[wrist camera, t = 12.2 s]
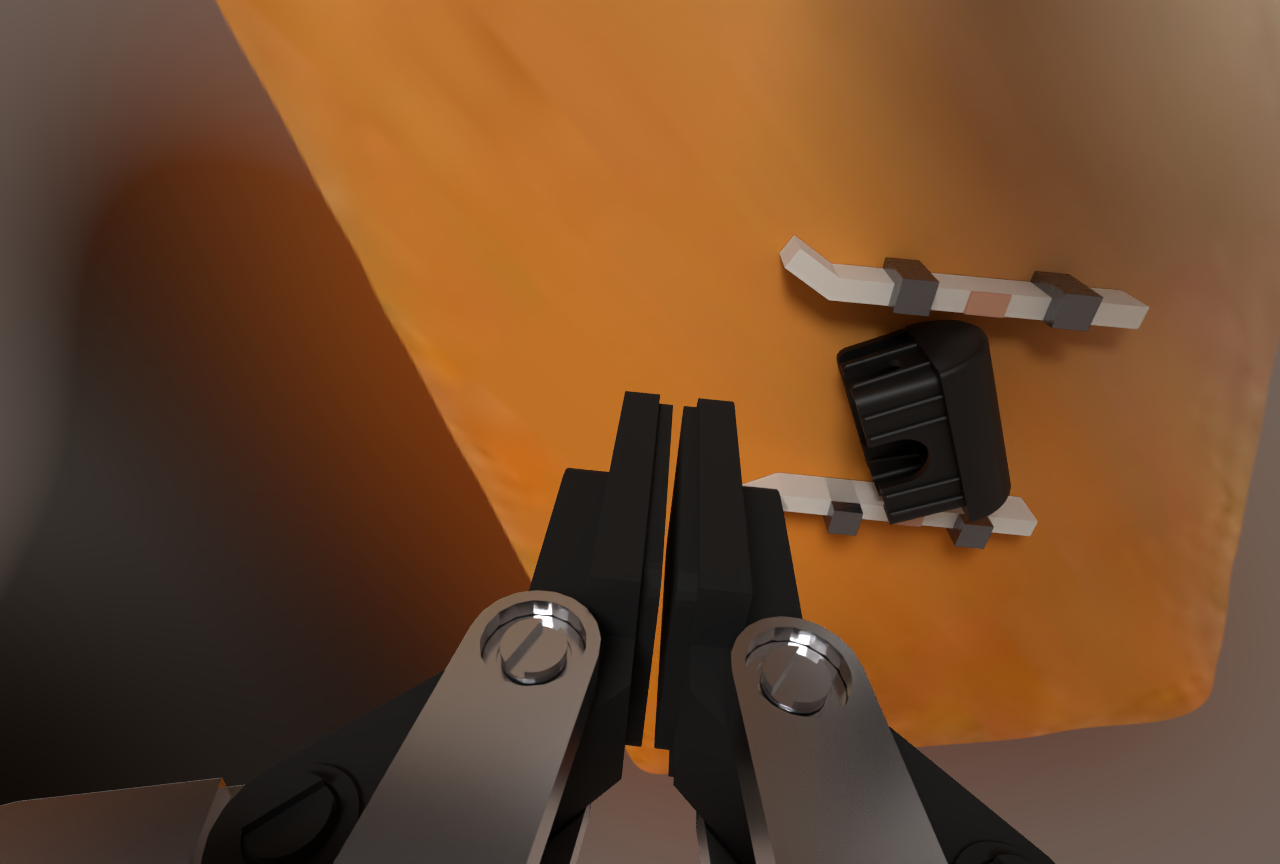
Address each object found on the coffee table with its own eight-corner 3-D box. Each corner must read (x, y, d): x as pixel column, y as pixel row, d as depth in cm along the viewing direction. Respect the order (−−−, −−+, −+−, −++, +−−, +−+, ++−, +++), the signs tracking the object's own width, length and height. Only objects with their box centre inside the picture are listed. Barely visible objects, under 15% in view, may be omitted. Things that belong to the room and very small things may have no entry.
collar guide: (783, 234, 35) (790, 253, 32) (1133, 266, 34) (1175, 288, 31) (733, 498, 44) (735, 532, 41) (1006, 526, 44) (1028, 562, 41)
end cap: (983, 442, 41) (1030, 510, 35) (869, 473, 43) (896, 543, 37) (958, 301, 36) (1008, 353, 30) (831, 343, 38) (856, 399, 32)
